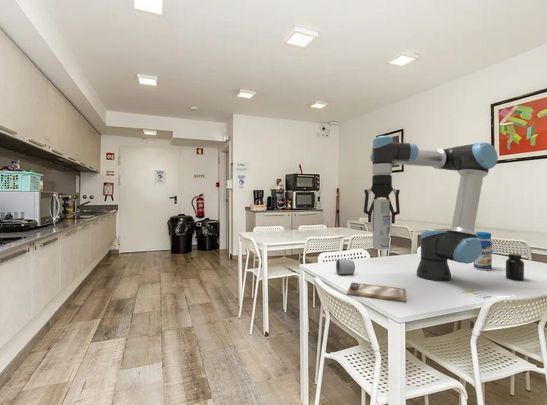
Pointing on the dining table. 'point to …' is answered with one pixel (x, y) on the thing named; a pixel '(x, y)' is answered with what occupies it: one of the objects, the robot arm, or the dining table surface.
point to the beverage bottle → (484, 252)
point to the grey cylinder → (345, 266)
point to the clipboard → (377, 292)
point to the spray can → (381, 224)
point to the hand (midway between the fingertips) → (381, 231)
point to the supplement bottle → (515, 267)
